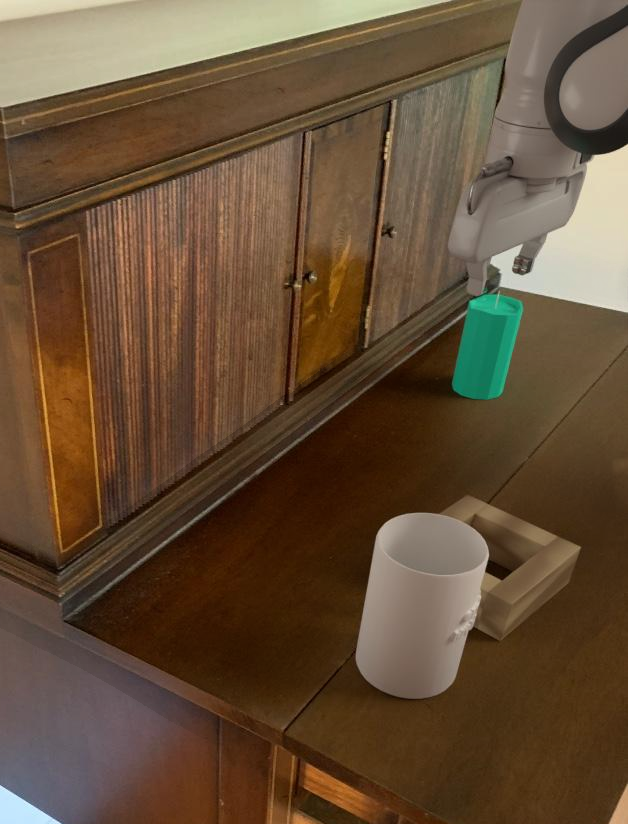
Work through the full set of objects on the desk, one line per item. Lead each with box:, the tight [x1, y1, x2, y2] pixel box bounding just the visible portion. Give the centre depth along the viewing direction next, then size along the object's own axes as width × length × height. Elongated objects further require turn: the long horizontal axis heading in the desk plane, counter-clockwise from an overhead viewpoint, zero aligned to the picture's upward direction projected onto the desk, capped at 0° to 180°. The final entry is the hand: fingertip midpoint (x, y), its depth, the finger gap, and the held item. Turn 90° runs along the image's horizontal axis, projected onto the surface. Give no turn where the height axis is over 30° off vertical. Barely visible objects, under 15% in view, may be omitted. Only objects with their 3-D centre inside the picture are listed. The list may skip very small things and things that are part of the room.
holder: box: [438, 494, 582, 642], centre depth 81 cm, size 11×11×4 cm
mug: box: [355, 512, 489, 700], centre depth 71 cm, size 8×12×12 cm
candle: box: [451, 290, 524, 401], centre depth 108 cm, size 6×6×12 cm
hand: (499, 283), depth 103 cm, fingers open, 8 cm apart
